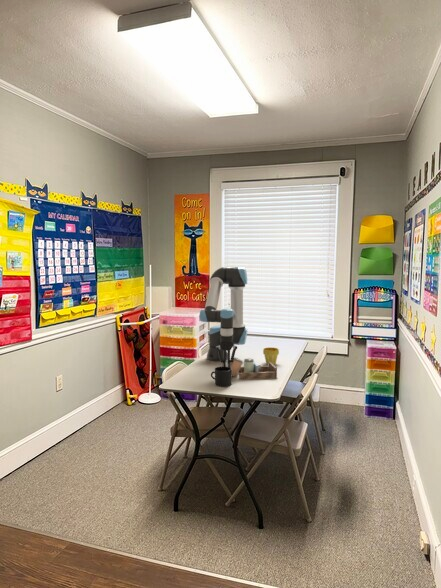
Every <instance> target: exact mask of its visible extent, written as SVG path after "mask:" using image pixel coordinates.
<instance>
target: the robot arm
mask: <svg viewBox="0 0 441 588" xmlns="http://www.w3.org/2000/svg"><path fill="white" fill-rule="evenodd" d="M247 284H248V275H247V269H246V268H245V267H241V266H222V267H219V268H218V269H216V270H215V271H214V272H213V273H212V275H211V276H210V278H209V289H208V293H207V298H206V302H205V305H204V306H205V307H204V309H201V310H200V311H199V321H200V322H202V323H220V325H214V326H211V327H209V329H208V330H209V331H208V339H209V340H208V343H209V347H208V350H207V354H206V360H208V361H212V362H220V363H222V364H223V365H222V367H230V366H231V363H232V362H233V359H234V357H235V356H236V355H235V354H236V351H237V349H238V346H239V345H241V346H242V345H245V344H246V342H247V337H248V328H247V327H246V325H245V324H244V289H245V287H246V285H247ZM224 285H228V288H229V290H230V308H222V309H220V310H218V305H219V300H220V295H221V290H222V287H223V286H224ZM232 348H233V349H232ZM231 350H232V353H231Z"/></svg>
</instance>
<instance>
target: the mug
mask: <svg viewBox="0 0 441 588" xmlns="http://www.w3.org/2000/svg"><path fill="white" fill-rule="evenodd" d="M213 374H214V376H213ZM210 377H211V379H212V380H214V385H215V386H216V387H221V388H226V387H230V386H231V385H232V377H233V376H232V369H231V368H230V367H223V366H216V367H215V368H214V371H212V372H211V373H210Z"/></svg>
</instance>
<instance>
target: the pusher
mask: <svg viewBox="0 0 441 588" xmlns="http://www.w3.org/2000/svg"><path fill="white" fill-rule="evenodd" d="M261 366H262V365H261V364H260V363H257V362H256V361H255V360H254V372H258V368H261Z"/></svg>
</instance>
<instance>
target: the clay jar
mask: <svg viewBox="0 0 441 588" xmlns="http://www.w3.org/2000/svg"><path fill="white" fill-rule="evenodd" d="M242 364H244V360H242V359H240V358H238V357H235V356H234V359H233V362H231V363H230V368H231V369H232V376H231V377H235V378H236V377H238V376H239V373H238V372H239V370H240V368H241V367H242Z"/></svg>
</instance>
